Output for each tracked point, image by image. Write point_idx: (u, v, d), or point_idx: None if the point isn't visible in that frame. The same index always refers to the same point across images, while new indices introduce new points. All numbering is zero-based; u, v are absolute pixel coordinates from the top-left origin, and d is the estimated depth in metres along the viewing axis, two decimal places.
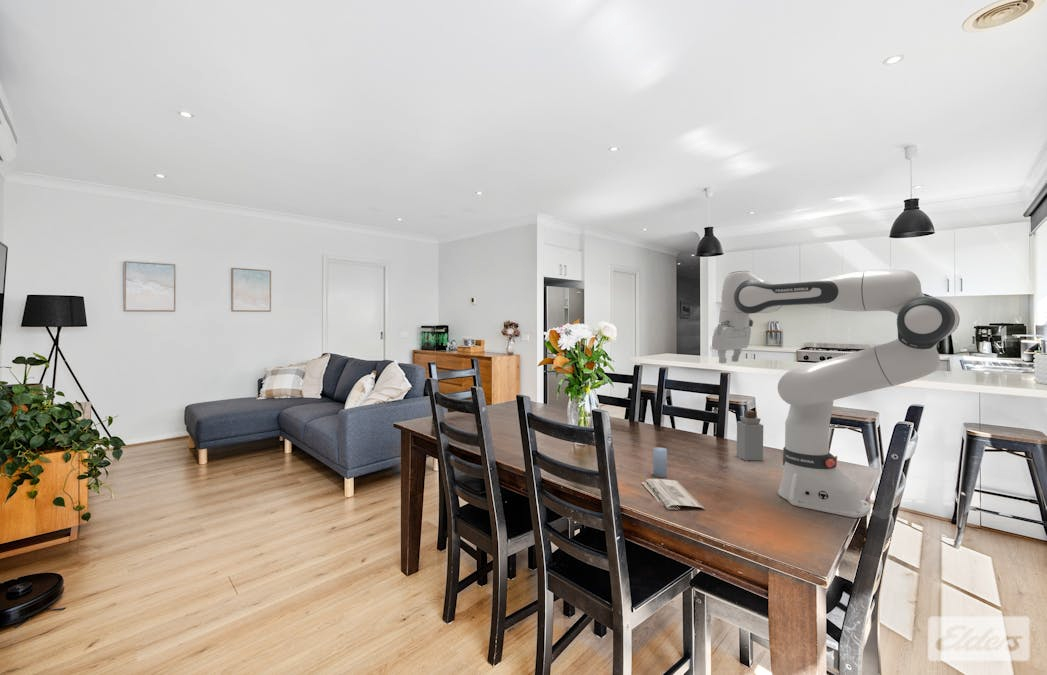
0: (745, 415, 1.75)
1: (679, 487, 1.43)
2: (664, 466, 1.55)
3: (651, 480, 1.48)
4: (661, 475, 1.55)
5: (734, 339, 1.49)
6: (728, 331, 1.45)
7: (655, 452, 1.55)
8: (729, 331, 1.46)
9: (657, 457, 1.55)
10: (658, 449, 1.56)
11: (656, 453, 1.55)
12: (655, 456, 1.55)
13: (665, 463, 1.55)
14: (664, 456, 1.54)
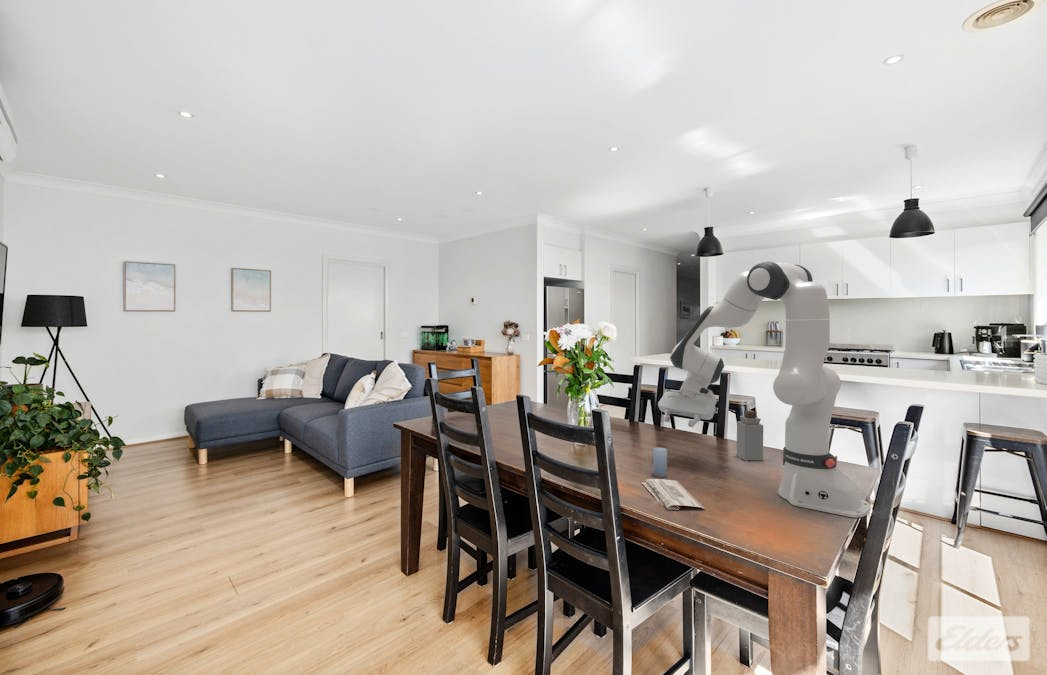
0: (745, 415, 1.75)
1: (679, 487, 1.43)
2: (664, 466, 1.55)
3: (651, 480, 1.48)
4: (661, 475, 1.55)
5: (679, 401, 1.69)
6: (669, 394, 1.73)
7: (655, 452, 1.55)
8: (671, 394, 1.73)
9: (657, 457, 1.55)
10: (658, 449, 1.56)
11: (656, 453, 1.55)
12: (655, 456, 1.55)
13: (665, 463, 1.55)
14: (664, 456, 1.54)
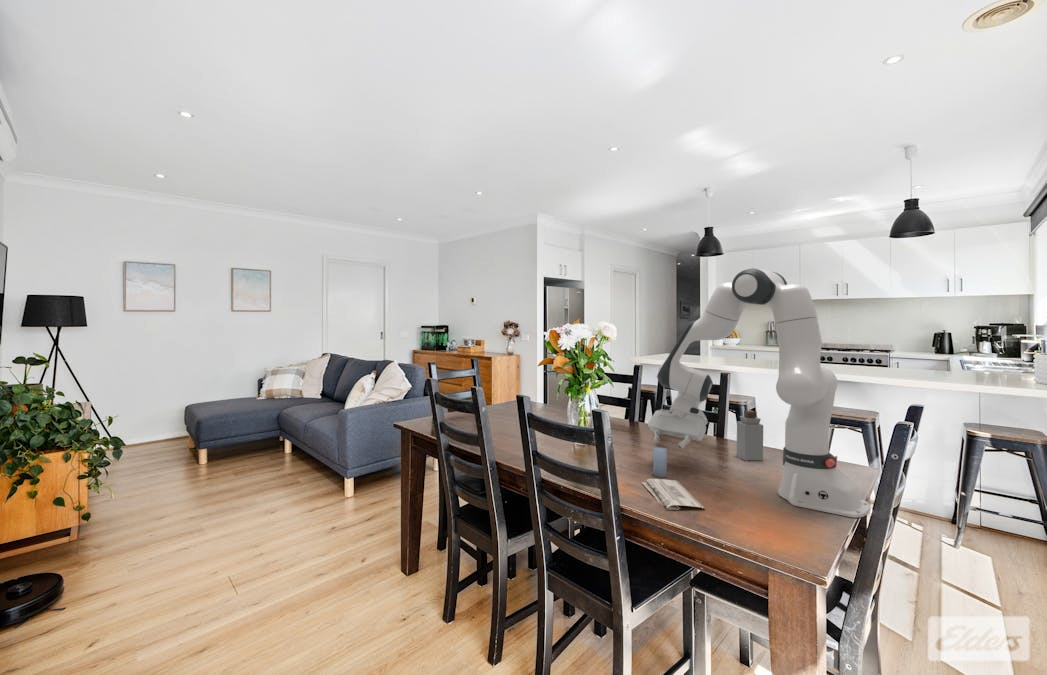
0: (745, 415, 1.75)
1: (679, 487, 1.43)
2: (664, 466, 1.55)
3: (651, 480, 1.48)
4: (661, 475, 1.55)
5: (669, 421, 1.64)
6: (659, 413, 1.69)
7: (655, 452, 1.55)
8: (661, 414, 1.68)
9: (657, 457, 1.55)
10: (658, 449, 1.56)
11: (656, 453, 1.55)
12: (655, 456, 1.55)
13: (665, 463, 1.55)
14: (664, 456, 1.54)
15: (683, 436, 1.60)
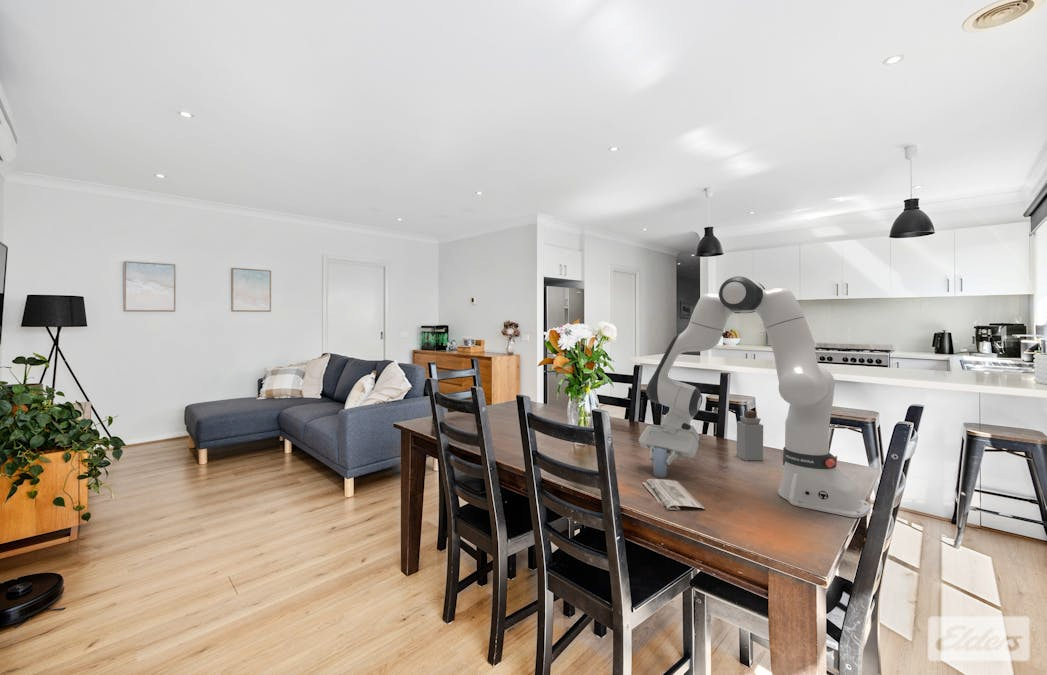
0: (745, 415, 1.75)
1: (680, 487, 1.43)
2: (664, 466, 1.55)
3: (652, 480, 1.48)
4: (661, 475, 1.55)
5: (661, 437, 1.60)
6: (651, 429, 1.65)
7: (655, 452, 1.55)
8: (653, 429, 1.65)
9: (657, 457, 1.55)
10: (658, 449, 1.56)
11: (656, 453, 1.55)
12: (655, 456, 1.55)
13: None
14: (664, 456, 1.54)
15: None
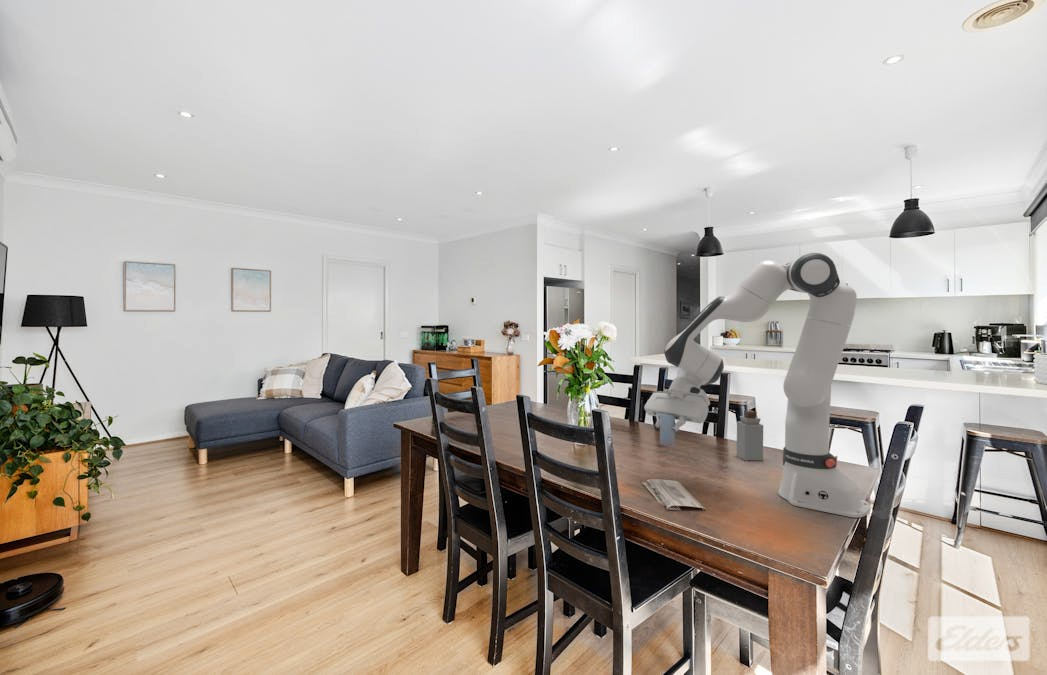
0: (745, 415, 1.75)
1: (680, 487, 1.43)
2: (671, 433, 1.43)
3: (652, 480, 1.48)
4: (668, 442, 1.43)
5: (668, 403, 1.49)
6: (657, 395, 1.54)
7: (662, 418, 1.44)
8: (659, 396, 1.53)
9: (664, 423, 1.43)
10: (665, 414, 1.45)
11: (662, 419, 1.44)
12: (662, 422, 1.44)
13: None
14: (672, 421, 1.43)
15: None
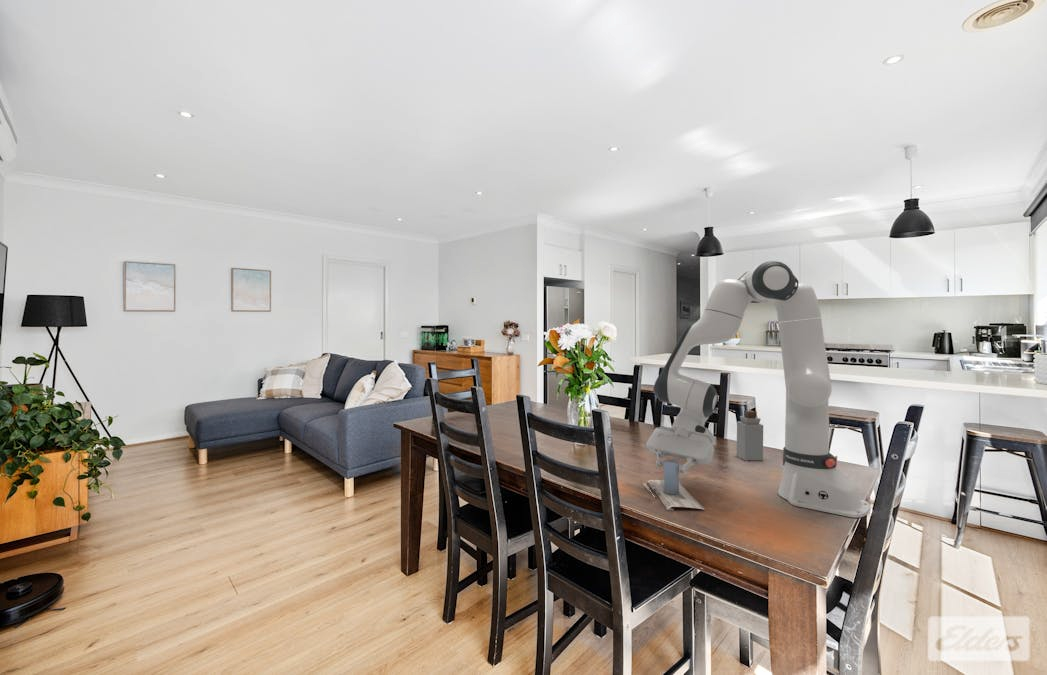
0: (745, 415, 1.75)
1: (680, 488, 1.43)
2: (676, 482, 1.36)
3: (652, 481, 1.48)
4: (672, 492, 1.36)
5: (671, 441, 1.42)
6: (660, 432, 1.47)
7: (666, 466, 1.37)
8: (662, 432, 1.46)
9: (668, 472, 1.36)
10: (669, 462, 1.38)
11: (666, 467, 1.37)
12: (666, 470, 1.37)
13: (677, 478, 1.36)
14: (676, 470, 1.36)
15: None
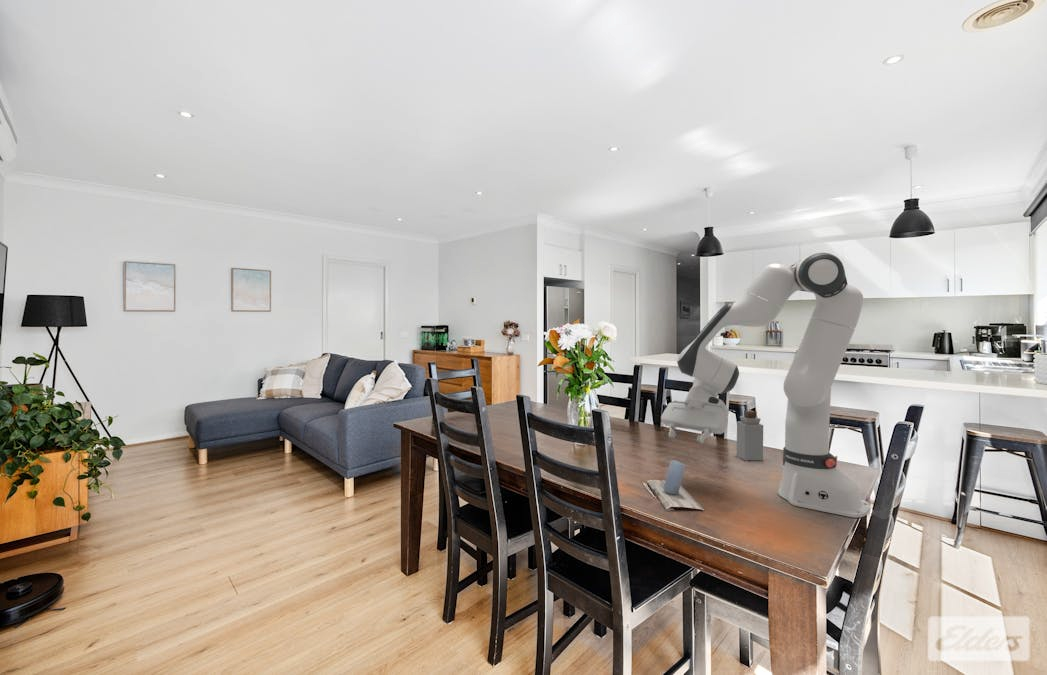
0: (745, 415, 1.75)
1: (680, 489, 1.43)
2: (678, 482, 1.36)
3: (652, 481, 1.48)
4: (672, 491, 1.36)
5: (685, 414, 1.47)
6: (673, 405, 1.52)
7: (672, 465, 1.37)
8: (676, 406, 1.51)
9: (673, 471, 1.36)
10: (676, 462, 1.38)
11: (672, 466, 1.37)
12: (671, 469, 1.37)
13: (680, 479, 1.36)
14: (681, 471, 1.36)
15: (702, 429, 1.43)
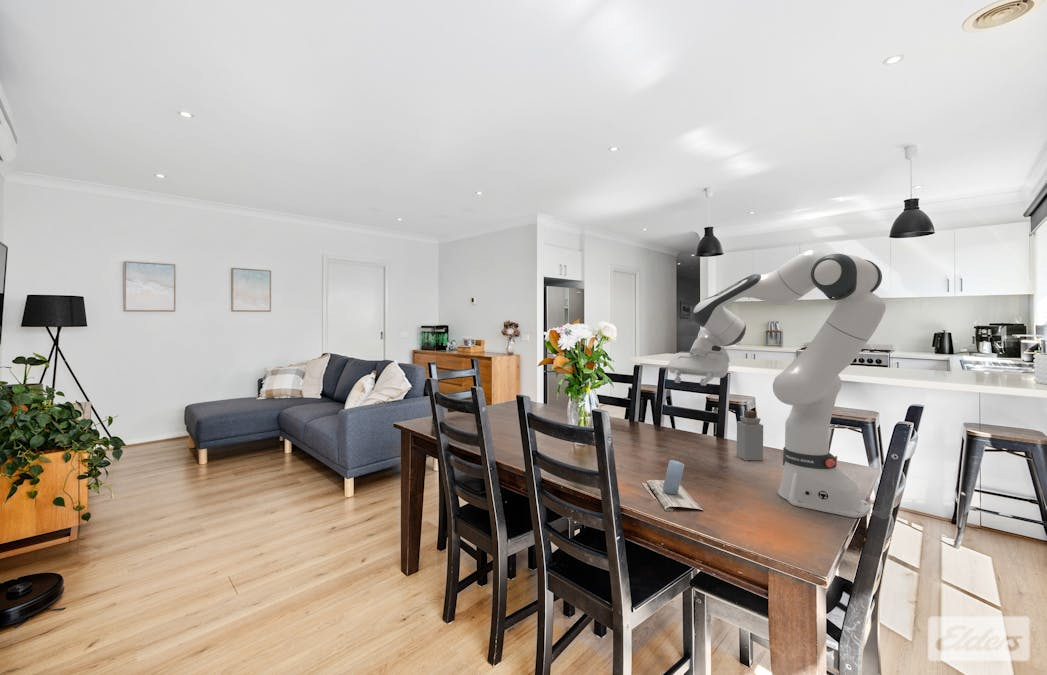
0: (745, 415, 1.75)
1: (679, 489, 1.42)
2: (677, 482, 1.36)
3: (652, 481, 1.48)
4: (671, 491, 1.36)
5: (690, 361, 1.61)
6: (679, 355, 1.66)
7: (671, 465, 1.37)
8: (681, 355, 1.65)
9: (672, 471, 1.36)
10: (675, 462, 1.38)
11: (671, 466, 1.36)
12: (670, 469, 1.37)
13: (679, 479, 1.36)
14: (680, 471, 1.36)
15: (705, 374, 1.57)
